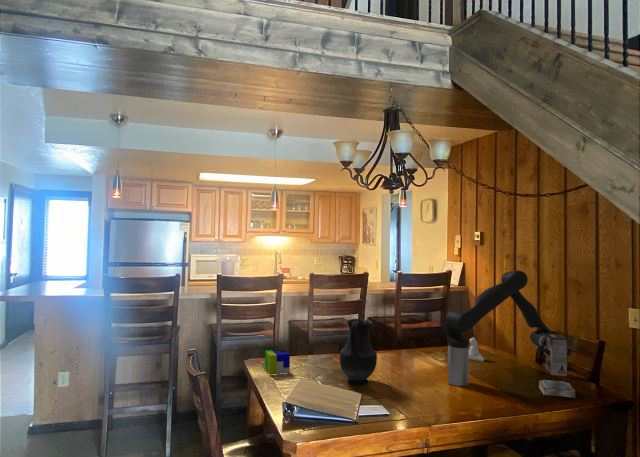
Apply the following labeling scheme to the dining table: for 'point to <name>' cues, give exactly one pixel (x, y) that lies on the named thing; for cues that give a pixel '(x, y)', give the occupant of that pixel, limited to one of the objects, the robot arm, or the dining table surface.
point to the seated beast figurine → (474, 351)
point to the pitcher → (358, 353)
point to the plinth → (556, 388)
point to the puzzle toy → (277, 361)
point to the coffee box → (556, 354)
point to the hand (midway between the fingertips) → (558, 353)
